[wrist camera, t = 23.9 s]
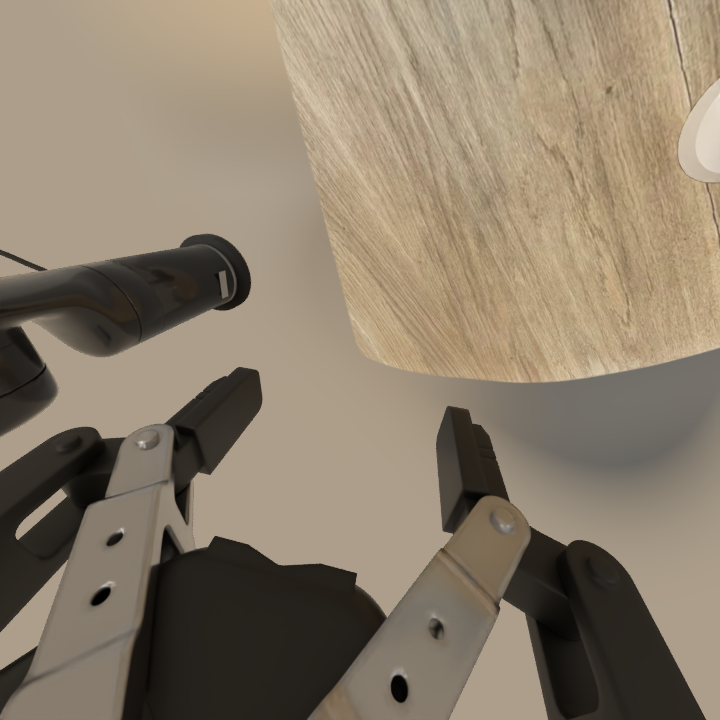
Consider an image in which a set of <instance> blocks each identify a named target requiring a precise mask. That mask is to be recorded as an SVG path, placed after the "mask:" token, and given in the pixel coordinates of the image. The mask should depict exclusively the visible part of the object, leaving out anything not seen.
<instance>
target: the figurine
mask: <svg viewBox="0 0 720 720" xmlns="http://www.w3.org/2000/svg"><path fill="white" fill-rule="evenodd" d="M678 158H679V162H680V165H681V167H682V169H683V170H684V172H685V173H686V174H687V175H688V176H690V177H691V178H693V179H695V180H698V181H702V182H709V183H718V182H720V78H719V79H718V80H717V81H716V82H715V83H714V84H713V85H712V86H710V87H709V89H708V90H707V91H706V92H705V93H704V95H703V96H702V97H701V98H700V99H699V100H698V102H697V103H696V105H695V106H694V108H693V109H692V111H691V112H690V114H689V116H688V118H687V120H686V122H685V124H684V126H683V129H682V132H681V135H680V138H679V144H678Z"/></svg>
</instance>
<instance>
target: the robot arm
mask: <svg viewBox="0 0 720 720" xmlns="http://www.w3.org/2000/svg"><path fill="white" fill-rule="evenodd" d="M0 255H2V256H5V257H7V258H10V259H12V260H14V261H17V262H19V263H21V264H23V265H25V266H28V267H30V268H33V269H35V270H38V272H31V273H26V274H18V275H13V276H6V277H0V437H2V436H4V435H6V434H7V433H9V432H11V431H13V430H15V429H17V428H18V427H20V426H22V425H23V424H25V423H27V422H28V421H30V420H31V419H33V418H34V417H36V416H37V415H39V414H40V413H41V412H43V411H44V410H45V409H46V408H47V407H49V406H50V405H51V403H53V401H54V400H55V398H56V397H57V395H58V390H59V388H58V385H57V382H56V380H55V378H54V376H53V374H52V373H51V371H50V370H49V368H48V367H47V365H46V363H45V362H44V361H43V359H42V357H41V356H40V355H39V353H38V351H37V350H36V348H35V347H34V345H33V344H32V342H31V341H30V339H29V338H28V337H27V335H26V333H25V332H24V331H23V329H22V328H21V326H20V325H21V324H22V323H24V322H26V321H29V320H30V321H32V322H34V323H36V324H38V325H40V326H41V327H42V328H44V329H45V330H47V331H48V332H49V333H51V334H52V335H53V336H55V337H57V338H58V339H59V340H60V341H62V342H63V343H64V344H66V345H68V346H69V347H71V348H73V349H75V350H77V351H79V352H81V353H84V354H86V355H90V356H94V357H109V356H114V355H117V354H119V353H121V352H123V351H125V350H128V349H129V348H132V347H134V346H136V345H138V344H140V343H142V342H144V341H146V340H148V339H150V338H152V337H154V336H156V335H158V334H160V333H162V332H165V331H167V330H169V329H171V328H173V327H175V326H177V325H179V324H181V323H183V322H185V321H188V320H190V319H192V318H194V317H196V316H198V315H200V314H202V313H204V312H206V311H209V310H211V309H213V308H215V307H217V306H219V305H222V304H225V303H227V302H229V301H230V300H232V299H233V297H234V296H235V294H236V291H237V277H236V273H235V270H234V268H233V266H232V264H231V263H230V261H229V260H228V259H227V257H226V256H225V255H224V254H223V253H221V252H220V251H219V250H218V249H216V248H214V247H212V246H210V245H206V244H196V245H192V246H189V247H183V248H176V249H171V250H164V251H158V252H152V253H146V254H140V255H134V256H128V257H122V258H116V259H110V260H105V261H99V262H93V263H88V264H81V265H76V266H69V267H63V268H58V269H52V270H47V269H45V268H43V267H40V266H38V265H35V264H33V263H30V262H28V261H26V260H23V259H21V258H19V257H17V256H15V255H12V254H10V253H7V252H5V251H2V250H0ZM261 405H262V392H261V384H260V377H259V372H258V371H257V370H254V369H248V368H243V367H238V368H236V369H235V370H234V371H233V372H232V373H231V374H230V375H229V376H228V377H227V376H224V377H222V378H220V379H218V380H216V381H214V382H212V383H211V384H210V385H209V386H207V387H206V388H205V389H204V390H203V392H201V393H199V394H198V395H197V396H196V398H195V399H192V400H191V401H190V402H189V403H188V404H187V405H186V406H184V407H183V408H182V409H181V410H180V411H179V412H177V413H176V414H175V415H174V416H173V417H172V418H171V419H170V420H168V421H167V422H166V423H165V424H154V425H149V426H146V427H143V428H140V429H138V430H136V431H135V432H133V433H132V434H130V435H129V436H128V437H126V438H109V439H102V438H101V436H100V434H99V433H98V431H97V430H96V429H94V428H92V427H78V428H74V429H70V430H67V431H64V432H61V433H59V434H57V435H55V436H53V437H51V438H50V439H48V440H47V441H45V442H43V443H42V444H40V445H39V446H38V447H36V448H35V449H33V450H32V451H30V452H29V453H27V454H26V455H24V456H23V457H21V458H20V459H18V460H17V461H15V462H14V463H12V464H11V465H9V466H8V467H6V468H5V469H4V470H2V471H1V472H0V632H1V631H2V630H3V629H4V628H5V627H6V626H7V624H8V623H9V622H10V621H11V620H12V619H13V618H14V617H15V616H16V615H17V614H18V613H19V611H20V610H21V609H22V608H23V607H24V606H25V605H26V604H27V603H28V602H29V601H30V600H31V599H32V597H33V596H34V595H35V594H36V593H37V592H38V591H39V590H40V589H41V588H42V587H43V586H44V584H45V583H46V582H47V581H48V580H49V579H50V578H51V577H52V576H53V575H54V574H55V573H56V571H58V569H59V568H60V567H61V566H62V565H63V564H64V563H65V562H66V560H68V562H67V565H66V568H65V571H64V574H63V576H62V579H61V582H60V585H59V588H58V590H57V594H56V596H55V599H54V602H53V605H52V608H51V611H50V613H49V616H48V619H47V622H46V624H45V627H44V630H43V633H42V636H41V639H40V642H39V644H38V646H37V647H35V648H34V649H32V650H30V651H29V652H28V653H26V654H25V655H23V656H21V657H20V658H18V659H17V660H15V661H14V662H12V663H11V664H9V665H8V666H6V667H5V668H3V669H2V670H0V720H449V718H450V716H451V713H452V712H453V709H454V707H455V705H456V703H457V701H458V699H459V697H460V695H461V693H462V691H463V688H464V686H465V684H466V682H467V680H468V678H469V676H470V674H471V672H472V669H473V668H474V665H475V663H476V661H477V659H478V657H479V655H480V653H481V651H482V649H483V647H484V644H485V642H486V640H487V638H488V636H489V634H490V632H491V630H492V628H493V625H494V623H495V621H496V619H497V617H498V614H499V611H500V607H499V603H500V600H501V598H503V599H504V600H505V601H507V602H509V603H510V604H512V605H513V606H515V607H516V608H518V609H520V610H521V611H523V612H525V615H526V620H527V624H528V629H529V633H530V638H531V643H532V647H533V652H534V656H535V661H536V665H537V670H538V674H539V679H540V684H541V688H542V693H543V698H544V702H545V706H546V711H547V716H548V720H706V719H705V717H704V715H703V713H702V711H701V709H700V707H699V705H698V703H697V702H696V700H695V698H694V696H693V694H692V692H691V690H690V688H689V686H688V684H687V682H686V681H685V679H684V677H683V675H682V673H681V671H680V669H679V668H678V665H677V663H676V662H675V660H674V658H673V656H672V654H671V652H670V650H669V648H668V646H667V645H666V643H665V641H664V639H663V637H662V635H661V633H660V631H659V629H658V627H657V625H656V624H655V622H654V620H653V618H652V616H651V614H650V612H649V610H648V608H647V606H646V605H645V603H644V601H643V599H642V597H641V595H640V593H639V591H638V589H637V588H636V586H635V584H634V582H633V580H632V579H631V577H630V575H629V574H628V572H627V571H626V570H625V568H624V567H623V566H622V565H621V564H620V563H619V562H618V561H617V560H616V559H615V558H614V557H613V556H612V555H610V554H609V553H608V552H607V551H605V550H604V549H602V548H601V547H599V546H597V545H595V544H593V543H590V542H587V541H583V540H576V541H573V542H571V543H570V544H569V545H568V546H566V545H564V544H562V543H560V542H558V541H556V540H554V539H552V538H550V537H548V536H546V535H544V534H542V533H540V532H539V531H537V530H535V529H534V528H532V527H531V526H529V524H528V522H527V520H526V518H525V517H524V515H523V514H522V513H521V512H520V511H519V509H518V508H517V507H515V506H514V505H513V504H511V503H510V500H509V498H508V494H507V492H506V488H505V485H504V482H503V478H502V475H501V472H500V469H499V466H498V463H497V461H496V456H495V453H494V451H493V446H492V443H491V440H490V437H489V435H488V434H487V433H486V432H485V430H484V429H483V428H482V426H481V425H477V424H472V421H471V417H470V413H469V410H467V409H463V408H457V407H452V406H448V407H447V408H446V411H445V414H444V417H443V420H442V423H441V426H440V429H439V432H438V435H437V442H436V450H437V451H436V452H437V464H438V477H439V490H440V502H441V515H442V528H443V531H444V532H448V533H453V536H452V537H451V539H450V540H449V541H448V543H447V544H446V545H445V546H444V548H441V549H440V550H439V551H438V552H437V553H436V555H435V556H434V557H433V559H432V560H431V561H430V562H429V564H428V565H427V566H426V568H425V569H424V570H423V572H422V573H421V574H420V576H419V577H418V578H417V580H416V581H415V582H414V583H413V585H412V586H411V587H410V589H409V590H408V591H407V593H406V594H405V595H404V597H403V598H402V599H401V600H400V602H399V603H398V604H397V606H396V607H395V608H394V610H393V611H392V612H391V614H390V615H389V616H388V618H387V617H386V615H385V614H384V612H383V611H382V610H381V608H380V606H379V605H378V604H377V603H376V602H375V601H374V599H373V598H372V597H371V596H370V595H369V594H367V593H366V592H365V591H364V590H363V589H361V588H360V587H358V586H357V585H355V583H356V577H357V573H354V572H350V571H346V570H343V569H338V568H335V567H331V566H327V565H324V564H304V565H287V566H286V565H285V566H283V565H278V564H276V563H274V562H273V561H272V560H270V559H268V558H267V557H266V556H264V555H263V554H261V553H260V552H258V551H257V550H255V549H254V548H252V547H251V546H250V545H248V544H244V543H240V542H236V541H233V540H229V539H225V538H221V537H218V536H215V537H214V538H213V540H212V542H211V543H210V545H209V547H205V548H200V549H196V548H195V543H194V537H193V497H194V482H193V478H194V476H195V475H196V474H197V473H198V472H200V473H204V474H209V475H210V474H211V473H212V472H213V471H214V469H215V468H216V467H217V465H218V464H219V463H220V461H221V460H222V459H223V458H224V456H225V454H227V452H228V451H229V450H230V448H231V447H232V446H233V444H234V443H235V442H236V441H237V439H238V438H239V437H240V435H241V434H242V433H243V431H244V430H245V429H246V427H247V426H248V425H249V424H250V422H251V421H252V420H253V418H254V417H255V416H256V414H257V413H258V412H259V410H260V408H261ZM60 488H61V489H62V490H63V491H64V492H65V494H66V495H67V497H66V498H65V499H64V500H63V501H62V502H61V503H59V504H58V505H57V506H56V507H55V508H54V509H53V510H51V511H50V512H49V513H48V514H47V515H46V516H45V517H44V518H43V519H41V520H40V521H39V522H38V523H37V524H36V525H35V526H33V527H32V528H31V529H30V530H29V531H28V532H27V533H26V534H24V535H23V536H22V537H21V538H20V539H19V540H17V539H16V537H15V533H16V530H17V528H18V526H19V525H20V523H21V522H22V521H23V520H24V519H25V518H26V517H27V516H29V515H30V514H31V513H32V512H33V511H34V510H35V509H37V508H38V507H39V506H40V505H41V504H43V503H44V502H45V501H46V500H47V499H49V498H50V497H51V496H52V495H53V494H54V493H56V492H57V491H58V490H59V489H60Z"/></svg>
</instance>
